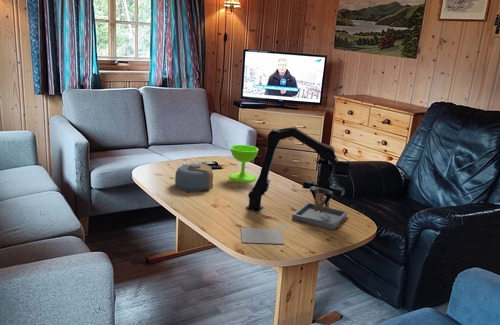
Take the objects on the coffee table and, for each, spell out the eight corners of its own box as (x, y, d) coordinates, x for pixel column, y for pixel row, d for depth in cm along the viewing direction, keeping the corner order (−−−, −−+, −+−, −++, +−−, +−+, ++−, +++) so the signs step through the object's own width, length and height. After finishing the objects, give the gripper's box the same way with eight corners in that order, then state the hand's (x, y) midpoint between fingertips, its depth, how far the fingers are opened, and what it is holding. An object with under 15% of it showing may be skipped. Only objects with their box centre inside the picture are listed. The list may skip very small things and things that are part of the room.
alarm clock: (217, 191, 234) (218, 169, 231) (179, 193, 227) (180, 170, 223) (206, 180, 251) (208, 159, 248) (171, 181, 244) (172, 160, 241)
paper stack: (239, 220, 199) (239, 219, 199) (294, 222, 201) (294, 221, 201) (242, 243, 177) (242, 242, 176) (304, 246, 179) (304, 244, 179)
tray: (333, 230, 196) (334, 225, 195) (291, 219, 204) (292, 214, 204) (346, 216, 213) (347, 211, 212) (307, 206, 222) (308, 202, 221)
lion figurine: (322, 213, 200) (325, 193, 199) (311, 211, 202) (313, 192, 202) (330, 211, 213) (333, 192, 213) (319, 209, 215) (322, 191, 215)
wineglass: (225, 174, 264) (227, 144, 259) (251, 174, 269) (253, 145, 264) (232, 183, 249) (234, 151, 244) (259, 182, 254) (262, 151, 249)
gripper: (350, 173, 206) (345, 205, 210) (312, 165, 214) (308, 196, 218) (343, 179, 196) (338, 212, 200) (303, 170, 204) (300, 202, 208)
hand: (321, 205), depth 207 cm, fingers closed on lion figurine, 4 cm apart
